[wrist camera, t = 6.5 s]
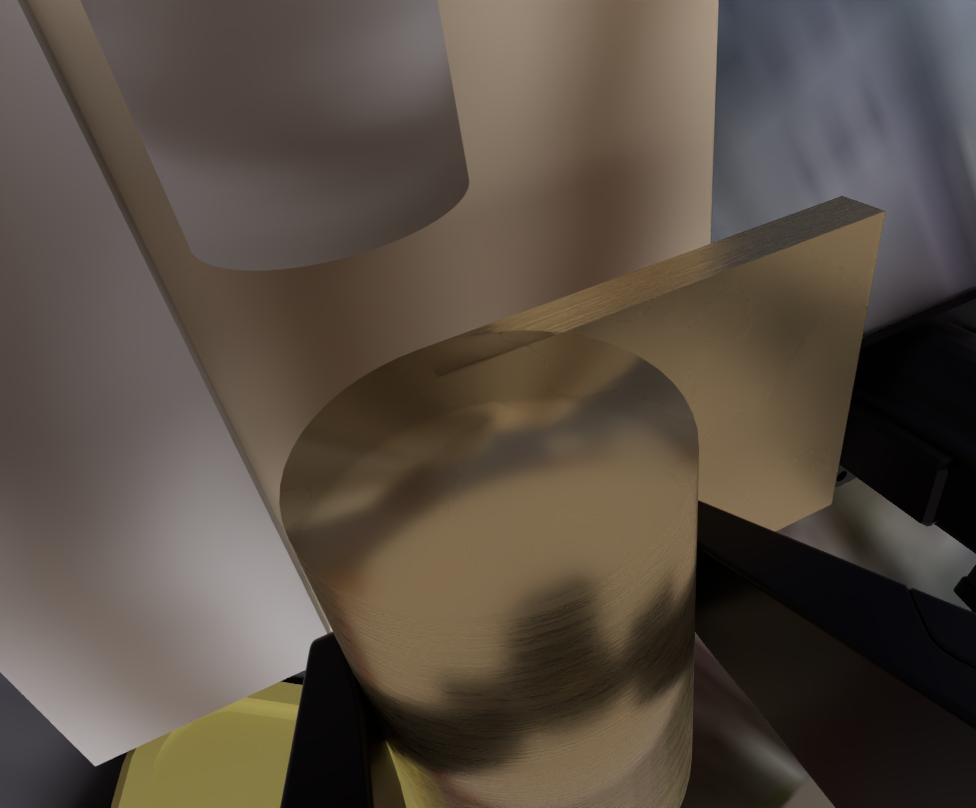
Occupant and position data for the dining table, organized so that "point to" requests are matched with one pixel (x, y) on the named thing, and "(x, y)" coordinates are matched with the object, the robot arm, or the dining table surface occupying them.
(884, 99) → the dining table surface
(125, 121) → the hinge base
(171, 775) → the plastic component
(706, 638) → the robot arm
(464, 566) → the brass cylinder with flap
